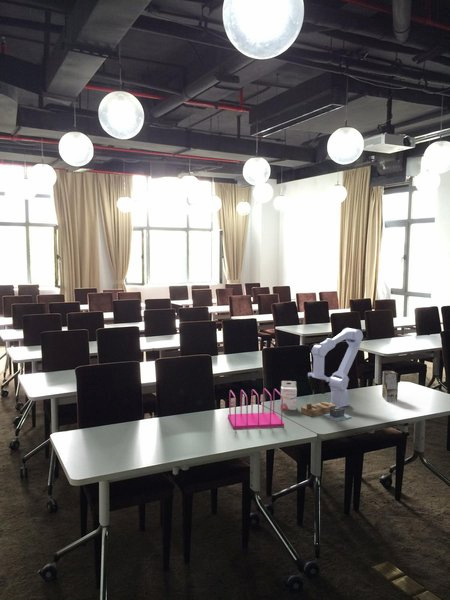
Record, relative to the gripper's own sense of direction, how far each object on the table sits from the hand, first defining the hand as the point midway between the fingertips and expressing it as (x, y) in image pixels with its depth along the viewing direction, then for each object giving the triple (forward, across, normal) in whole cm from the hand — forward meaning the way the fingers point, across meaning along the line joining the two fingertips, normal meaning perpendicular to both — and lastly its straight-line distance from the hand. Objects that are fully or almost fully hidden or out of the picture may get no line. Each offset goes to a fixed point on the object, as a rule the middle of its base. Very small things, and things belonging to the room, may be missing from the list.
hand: (318, 392), depth 271 cm
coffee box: (+10, +10, +48) cm, 50 cm away
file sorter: (+10, -2, -41) cm, 43 cm away
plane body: (+9, +4, -3) cm, 10 cm away
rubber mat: (+9, +15, -1) cm, 18 cm away
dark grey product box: (+9, +15, -1) cm, 18 cm away
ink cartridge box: (+10, -10, -13) cm, 19 cm away
